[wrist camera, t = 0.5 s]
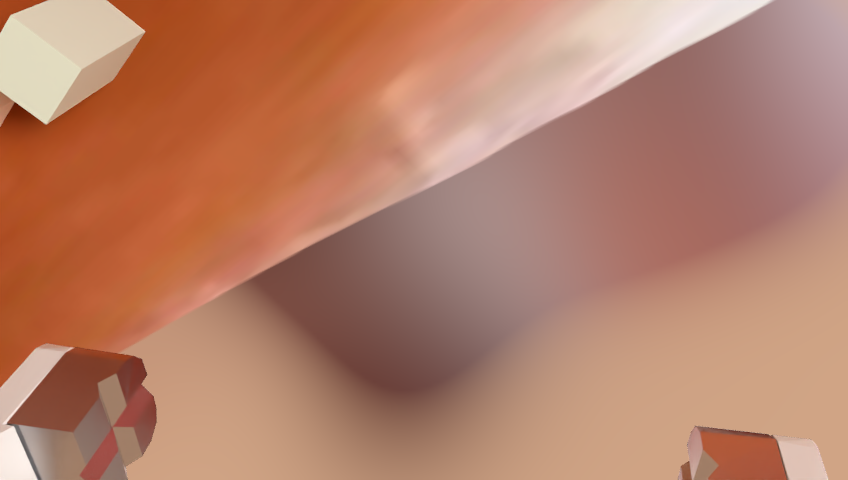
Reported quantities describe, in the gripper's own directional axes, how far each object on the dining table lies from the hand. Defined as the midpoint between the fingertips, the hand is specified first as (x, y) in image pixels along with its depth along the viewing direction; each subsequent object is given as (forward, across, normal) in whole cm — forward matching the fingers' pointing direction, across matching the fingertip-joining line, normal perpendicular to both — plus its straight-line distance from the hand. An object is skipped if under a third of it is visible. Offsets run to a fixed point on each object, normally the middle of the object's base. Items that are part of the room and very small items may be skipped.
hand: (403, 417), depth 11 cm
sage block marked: (+43, +32, +10) cm, 55 cm away
